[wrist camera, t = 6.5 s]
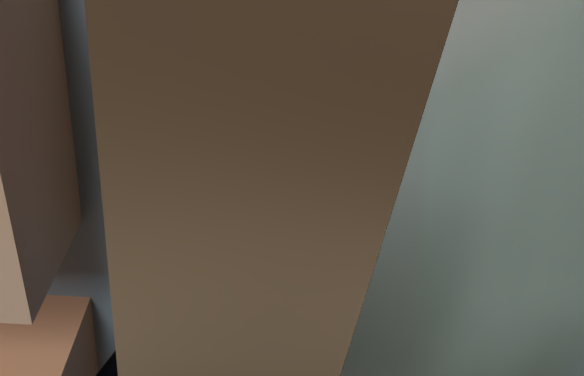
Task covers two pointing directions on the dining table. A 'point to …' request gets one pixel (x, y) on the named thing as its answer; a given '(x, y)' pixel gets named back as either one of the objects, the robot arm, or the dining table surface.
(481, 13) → the dining table surface
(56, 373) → the tile
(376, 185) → the scraper bar
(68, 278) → the platform
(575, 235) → the dining table surface
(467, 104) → the dining table surface
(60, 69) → the tile
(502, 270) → the dining table surface
